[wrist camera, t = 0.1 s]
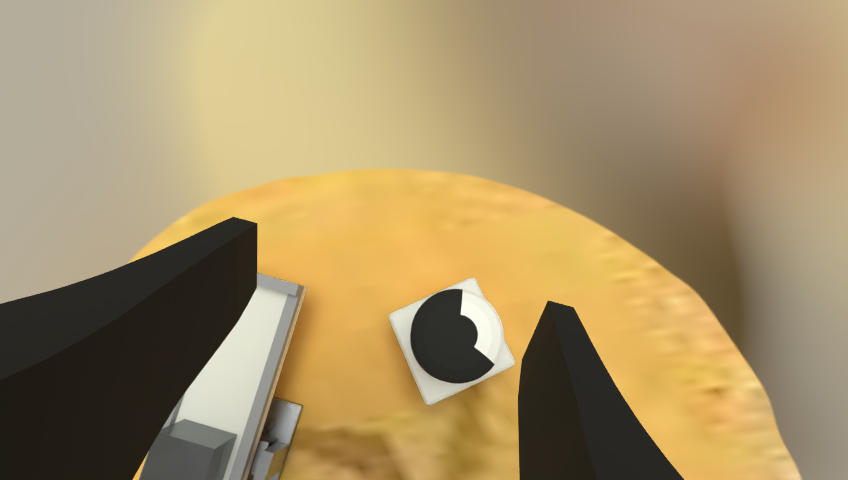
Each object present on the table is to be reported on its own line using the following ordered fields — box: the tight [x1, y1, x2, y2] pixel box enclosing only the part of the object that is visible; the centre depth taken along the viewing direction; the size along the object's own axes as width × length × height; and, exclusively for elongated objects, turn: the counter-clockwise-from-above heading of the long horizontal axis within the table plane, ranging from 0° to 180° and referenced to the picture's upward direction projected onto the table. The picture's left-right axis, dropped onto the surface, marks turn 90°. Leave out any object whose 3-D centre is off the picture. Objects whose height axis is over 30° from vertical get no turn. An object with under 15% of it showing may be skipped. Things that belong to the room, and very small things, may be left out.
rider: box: [139, 419, 237, 480], centre depth 34 cm, size 5×4×4 cm
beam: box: [139, 273, 307, 480], centre depth 37 cm, size 26×7×5 cm, turn 164°
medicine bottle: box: [389, 278, 515, 405], centre depth 38 cm, size 7×7×12 cm
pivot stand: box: [247, 397, 303, 480], centre depth 38 cm, size 8×10×6 cm
